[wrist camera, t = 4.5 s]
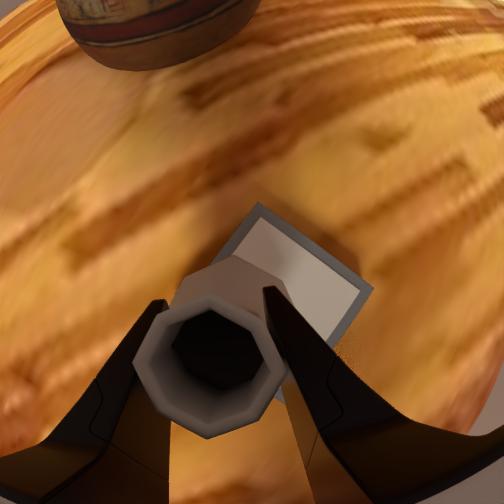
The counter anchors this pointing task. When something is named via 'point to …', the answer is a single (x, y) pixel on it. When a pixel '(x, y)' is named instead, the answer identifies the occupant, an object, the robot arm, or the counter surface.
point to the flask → (213, 350)
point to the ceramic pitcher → (152, 29)
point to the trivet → (300, 272)
